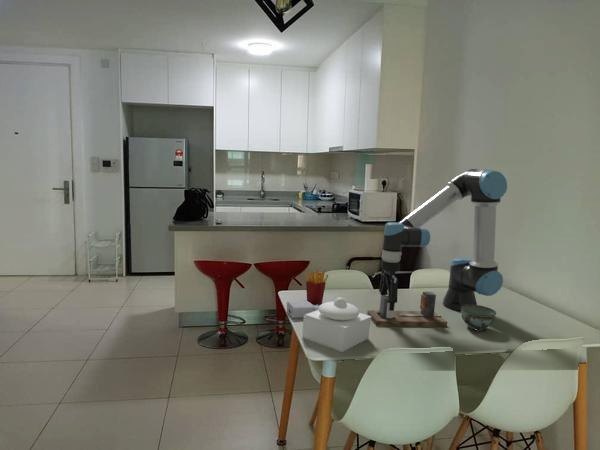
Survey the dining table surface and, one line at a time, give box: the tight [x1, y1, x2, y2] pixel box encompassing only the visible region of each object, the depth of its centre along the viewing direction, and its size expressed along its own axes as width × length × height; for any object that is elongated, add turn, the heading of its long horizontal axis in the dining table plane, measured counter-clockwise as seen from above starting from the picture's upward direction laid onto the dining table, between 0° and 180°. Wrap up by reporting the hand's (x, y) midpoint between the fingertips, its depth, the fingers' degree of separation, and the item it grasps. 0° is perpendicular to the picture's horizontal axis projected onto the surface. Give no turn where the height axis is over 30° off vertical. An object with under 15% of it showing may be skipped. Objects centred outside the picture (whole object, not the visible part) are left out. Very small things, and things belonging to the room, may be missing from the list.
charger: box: [286, 300, 320, 319], centre depth 193 cm, size 5×9×15 cm
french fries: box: [305, 270, 329, 306], centre depth 209 cm, size 9×8×15 cm
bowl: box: [460, 304, 497, 331], centre depth 188 cm, size 14×13×8 cm
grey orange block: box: [379, 295, 396, 319], centre depth 191 cm, size 5×4×10 cm
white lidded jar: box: [301, 296, 372, 353], centre depth 168 cm, size 18×18×16 cm
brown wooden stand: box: [366, 291, 448, 327], centre depth 192 cm, size 30×13×12 cm, turn 98°
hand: (386, 313), depth 191 cm, fingers open, 8 cm apart
